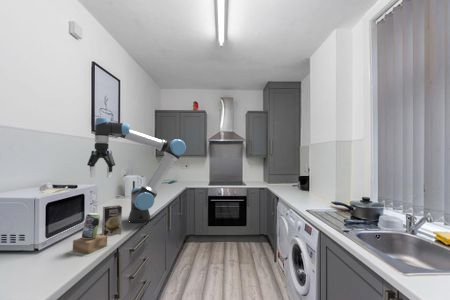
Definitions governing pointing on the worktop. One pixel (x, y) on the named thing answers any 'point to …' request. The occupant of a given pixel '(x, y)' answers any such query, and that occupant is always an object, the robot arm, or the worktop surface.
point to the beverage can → (91, 225)
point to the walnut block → (89, 244)
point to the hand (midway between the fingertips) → (100, 177)
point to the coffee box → (111, 220)
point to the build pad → (88, 254)
